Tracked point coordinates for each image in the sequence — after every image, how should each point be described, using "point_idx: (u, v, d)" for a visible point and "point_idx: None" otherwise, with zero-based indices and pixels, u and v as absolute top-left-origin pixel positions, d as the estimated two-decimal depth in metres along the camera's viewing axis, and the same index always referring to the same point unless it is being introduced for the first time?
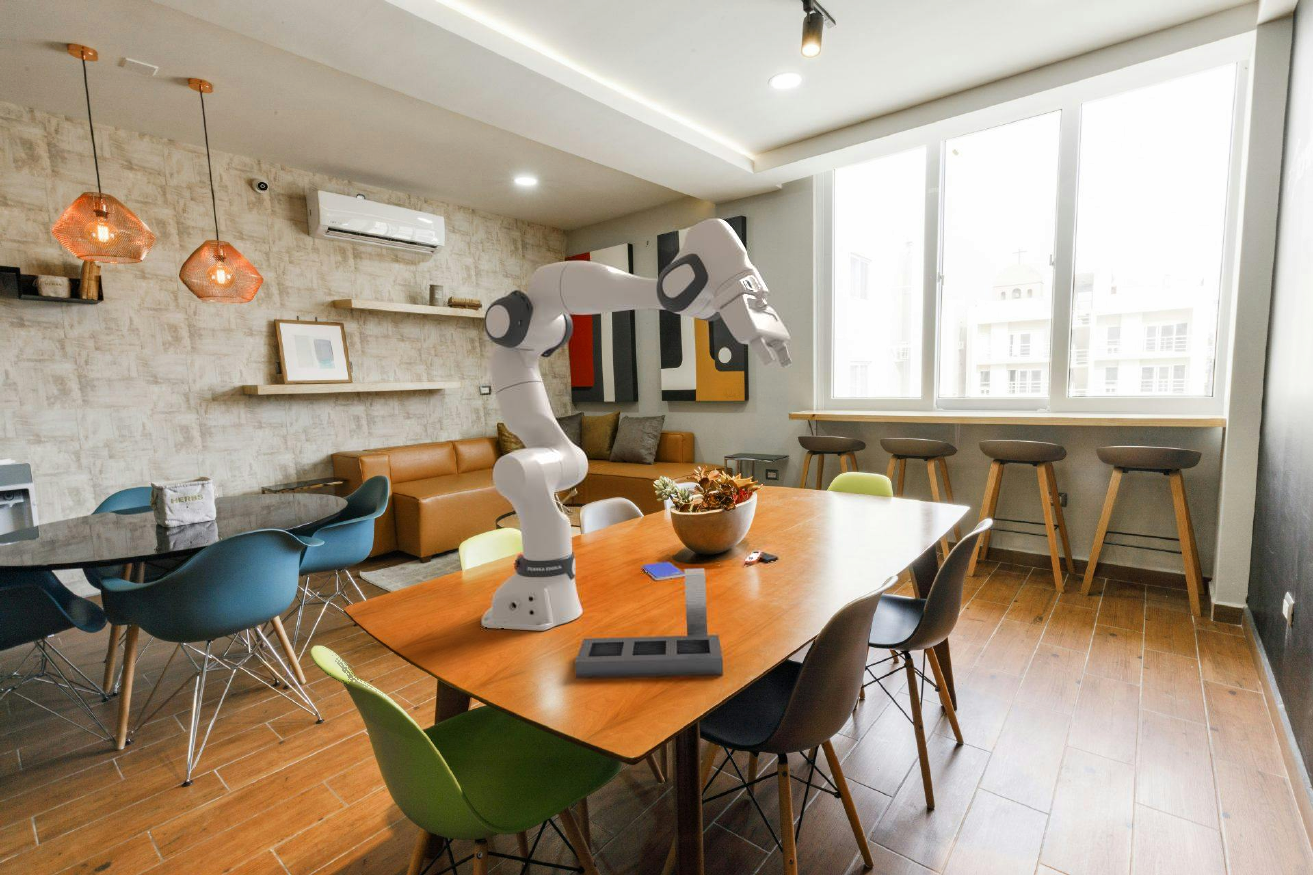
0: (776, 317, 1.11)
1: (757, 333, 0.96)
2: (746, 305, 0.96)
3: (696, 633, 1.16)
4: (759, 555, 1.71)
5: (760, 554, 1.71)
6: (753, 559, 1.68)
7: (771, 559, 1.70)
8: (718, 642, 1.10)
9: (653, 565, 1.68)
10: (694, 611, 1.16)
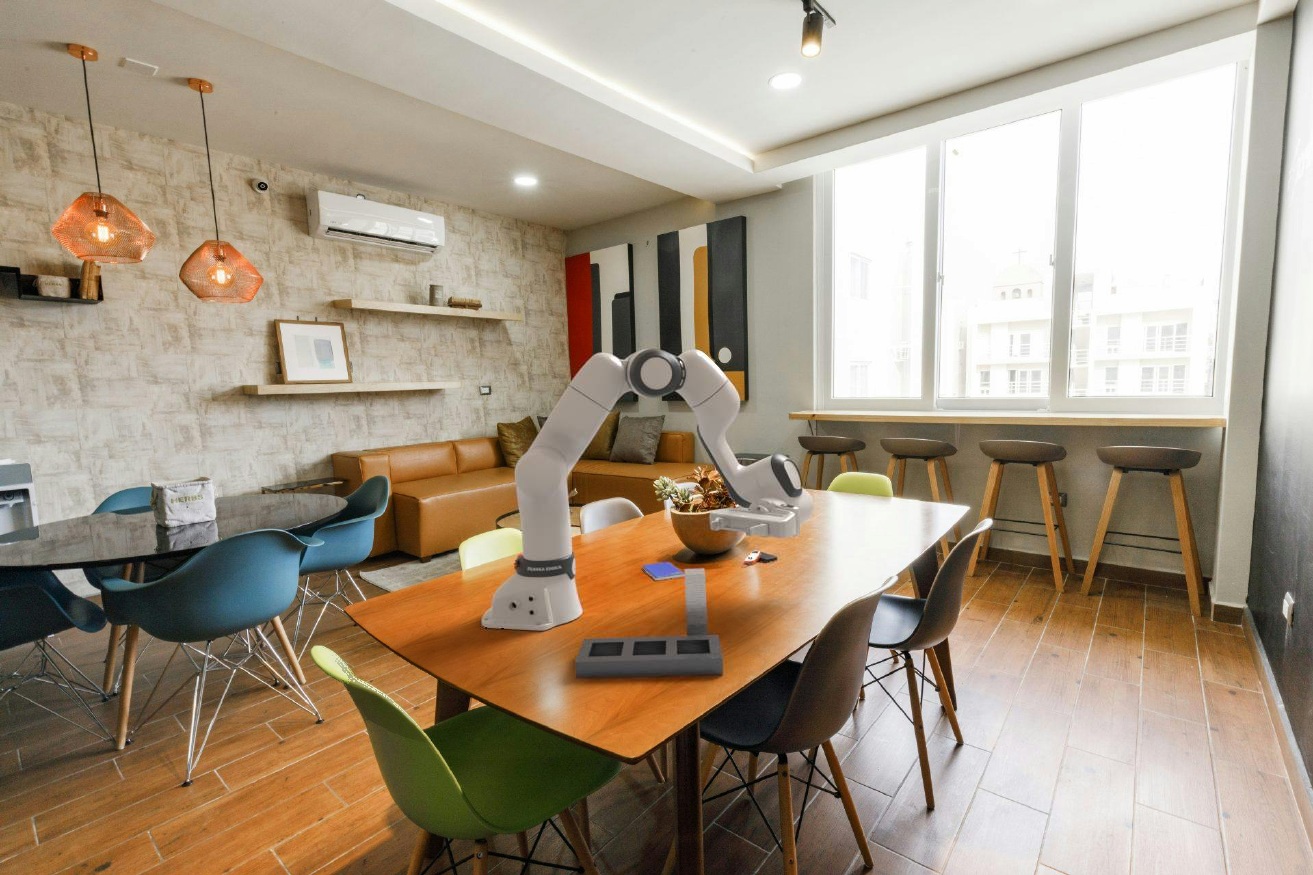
0: None
1: (777, 536, 1.23)
2: None
3: (696, 633, 1.16)
4: (758, 555, 1.71)
5: (759, 554, 1.71)
6: (752, 559, 1.68)
7: (770, 559, 1.70)
8: (718, 642, 1.10)
9: (653, 565, 1.68)
10: (694, 611, 1.16)
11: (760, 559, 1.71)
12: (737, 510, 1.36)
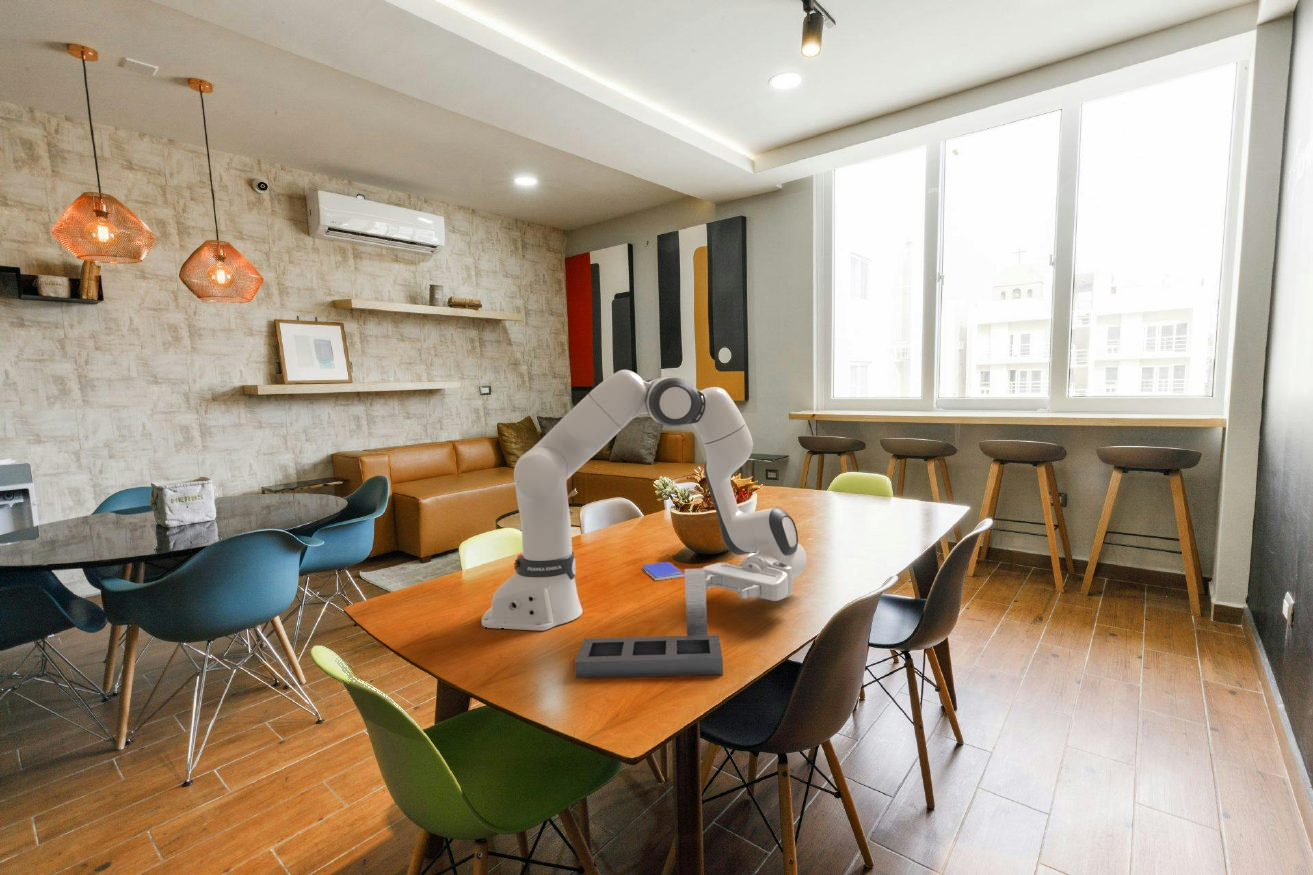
0: None
1: (768, 599, 1.22)
2: None
3: (696, 633, 1.16)
4: None
5: None
6: None
7: None
8: (718, 642, 1.10)
9: (653, 565, 1.68)
10: (694, 611, 1.16)
11: None
12: (729, 566, 1.35)
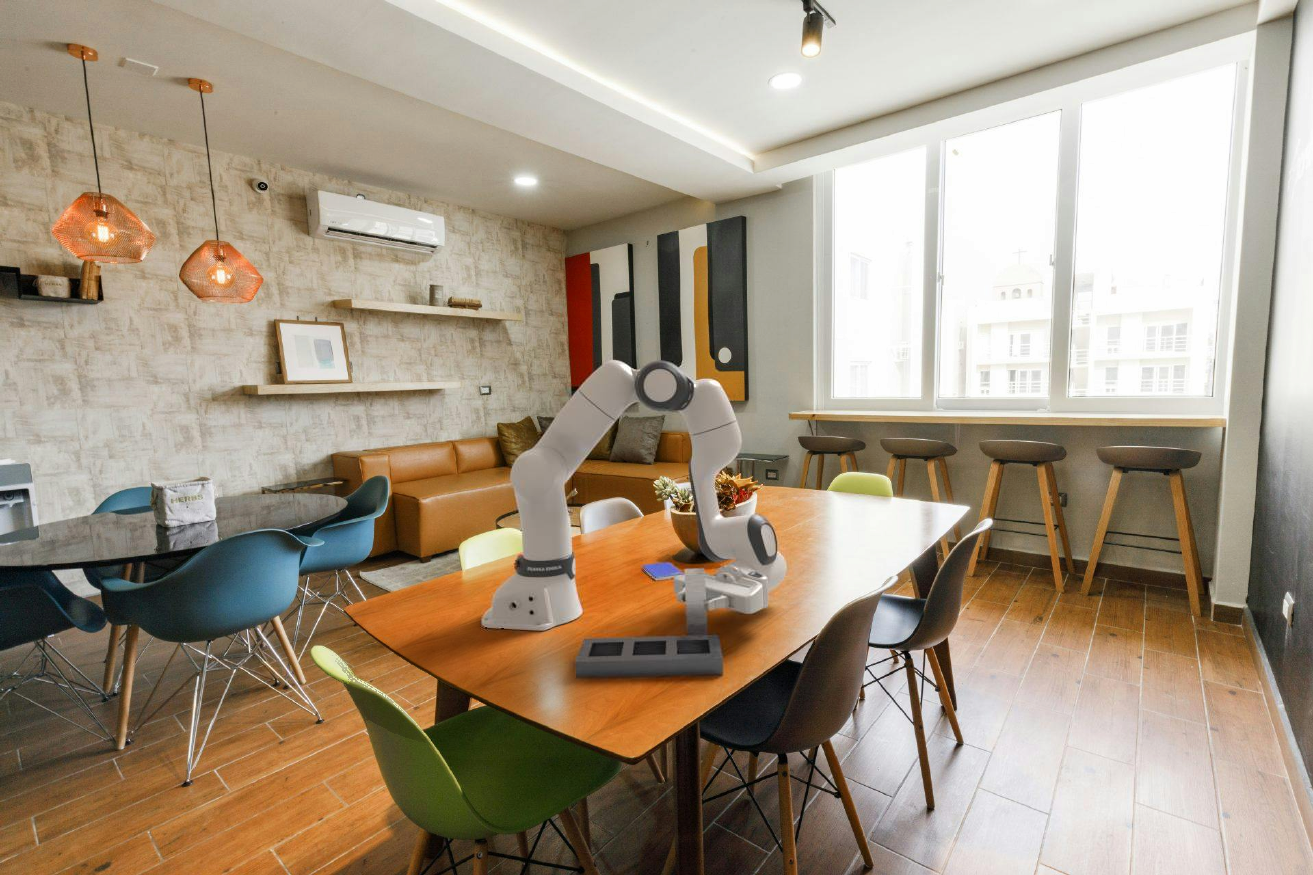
0: None
1: (742, 611, 1.15)
2: (759, 609, 1.18)
3: (696, 633, 1.16)
4: None
5: None
6: None
7: None
8: (718, 642, 1.10)
9: (653, 565, 1.68)
10: (694, 611, 1.16)
11: None
12: None
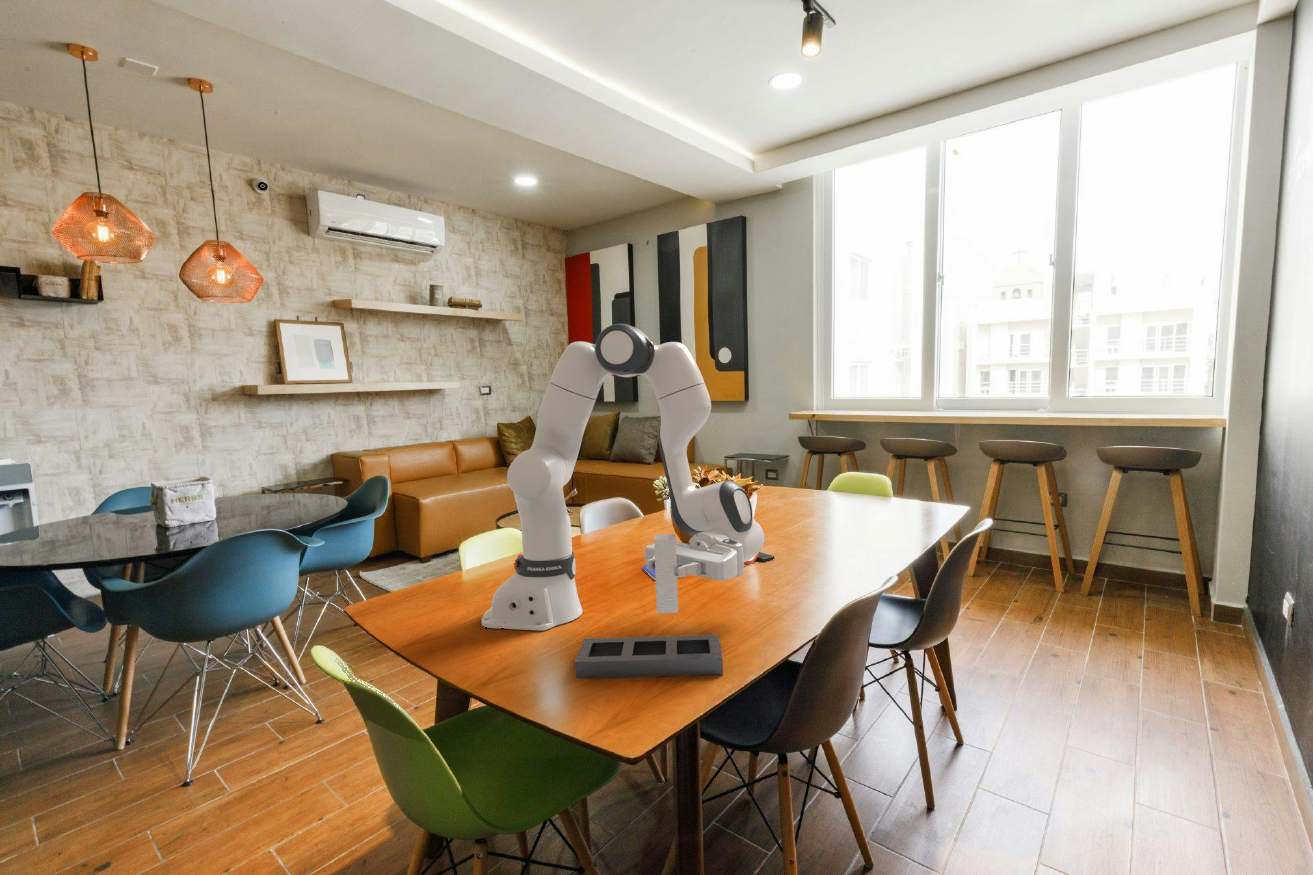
0: None
1: (714, 578, 1.09)
2: None
3: (666, 601, 1.10)
4: (756, 555, 1.71)
5: (757, 554, 1.71)
6: (750, 559, 1.69)
7: (768, 558, 1.71)
8: (718, 642, 1.10)
9: None
10: (664, 578, 1.10)
11: (757, 559, 1.72)
12: (676, 544, 1.22)
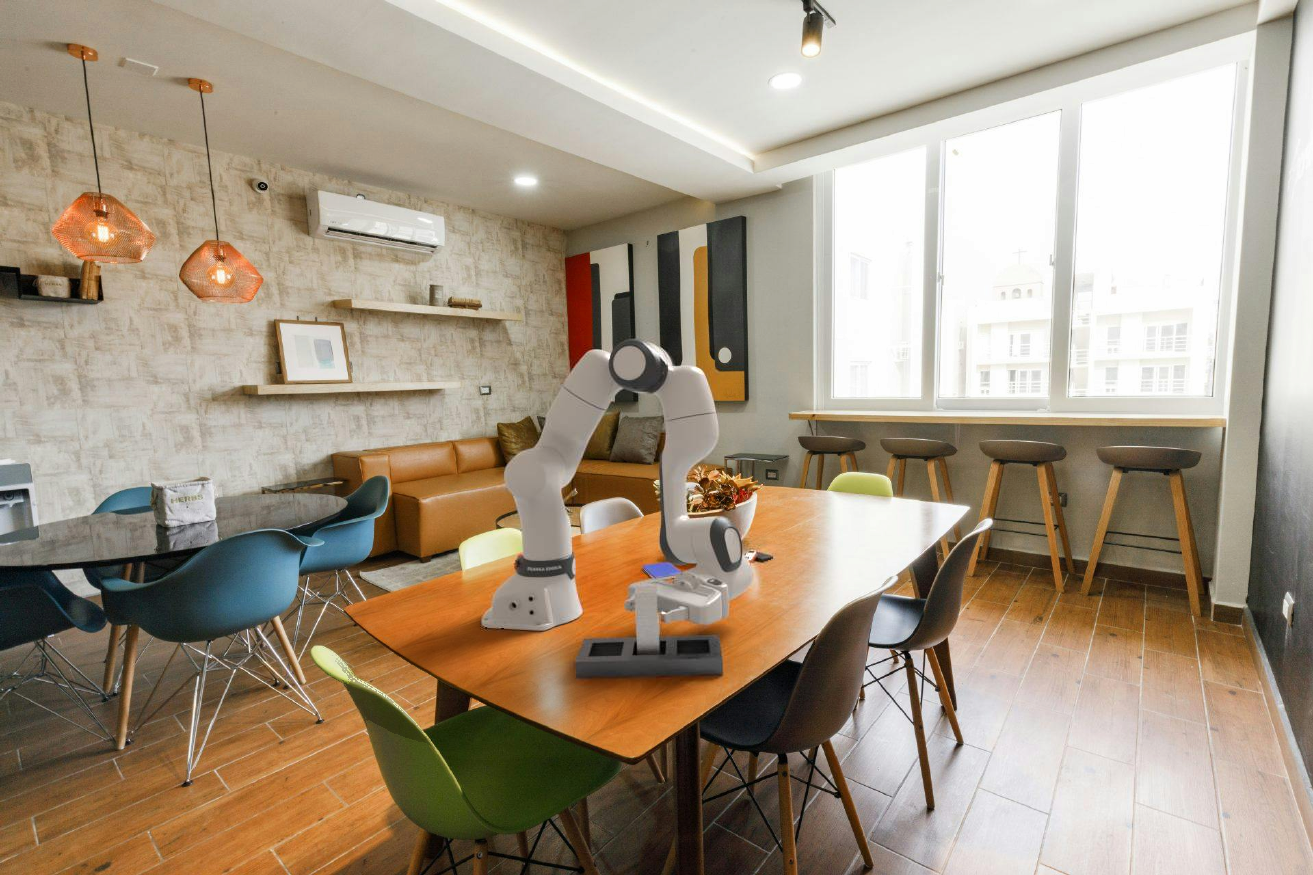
0: None
1: (697, 623, 1.05)
2: None
3: None
4: (755, 554, 1.71)
5: (755, 553, 1.72)
6: (749, 559, 1.69)
7: (766, 558, 1.71)
8: (718, 642, 1.10)
9: (653, 565, 1.68)
10: (645, 633, 1.06)
11: (756, 559, 1.72)
12: (660, 583, 1.18)
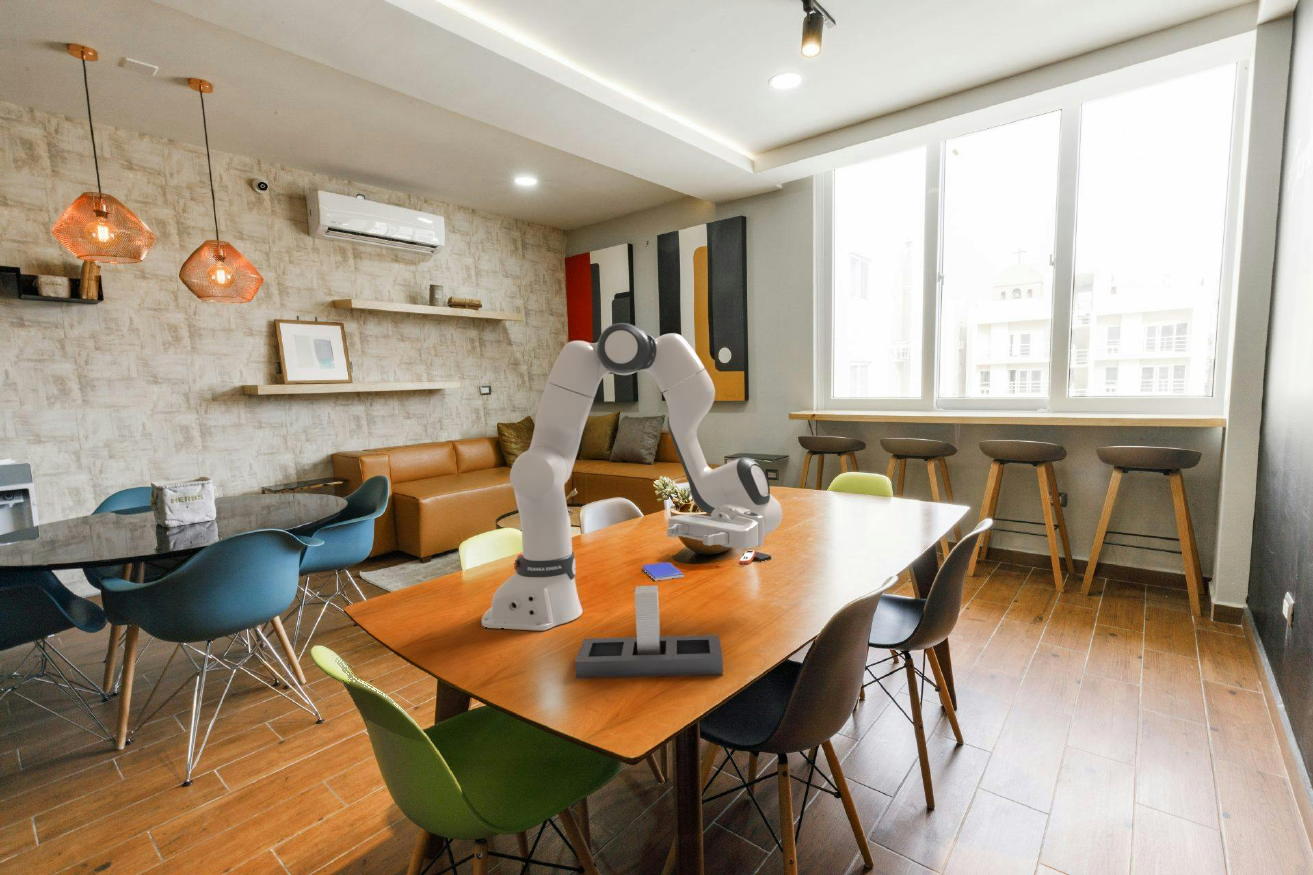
0: None
1: (736, 547, 1.14)
2: (753, 546, 1.17)
3: None
4: (753, 554, 1.71)
5: (754, 553, 1.72)
6: (748, 558, 1.69)
7: (765, 558, 1.71)
8: (718, 642, 1.10)
9: (653, 565, 1.68)
10: (645, 633, 1.06)
11: (755, 558, 1.72)
12: (698, 516, 1.27)
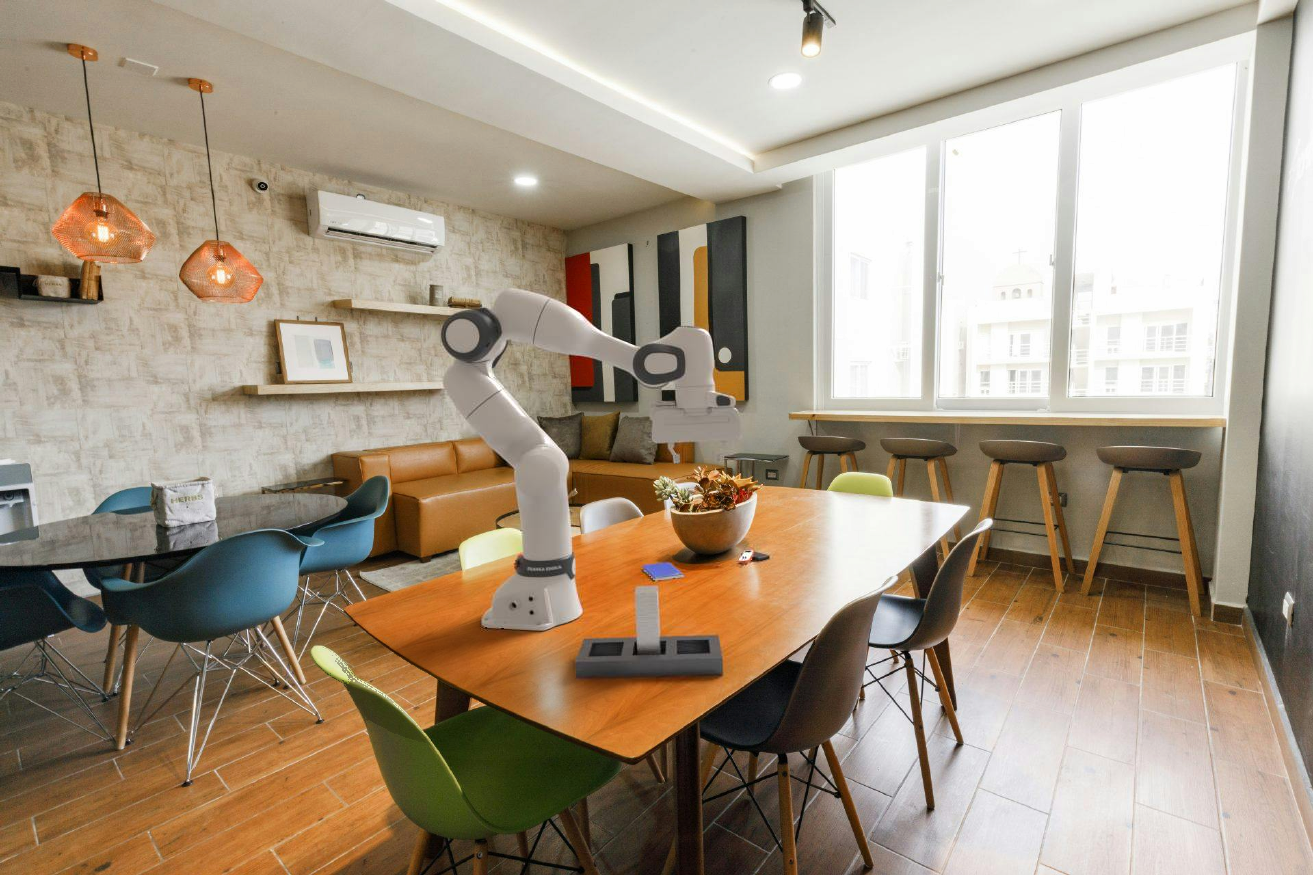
0: None
1: None
2: None
3: None
4: (752, 554, 1.72)
5: (752, 553, 1.72)
6: (747, 558, 1.69)
7: (763, 558, 1.72)
8: (718, 642, 1.10)
9: (653, 565, 1.68)
10: (645, 633, 1.06)
11: (753, 558, 1.72)
12: (671, 418, 1.30)
